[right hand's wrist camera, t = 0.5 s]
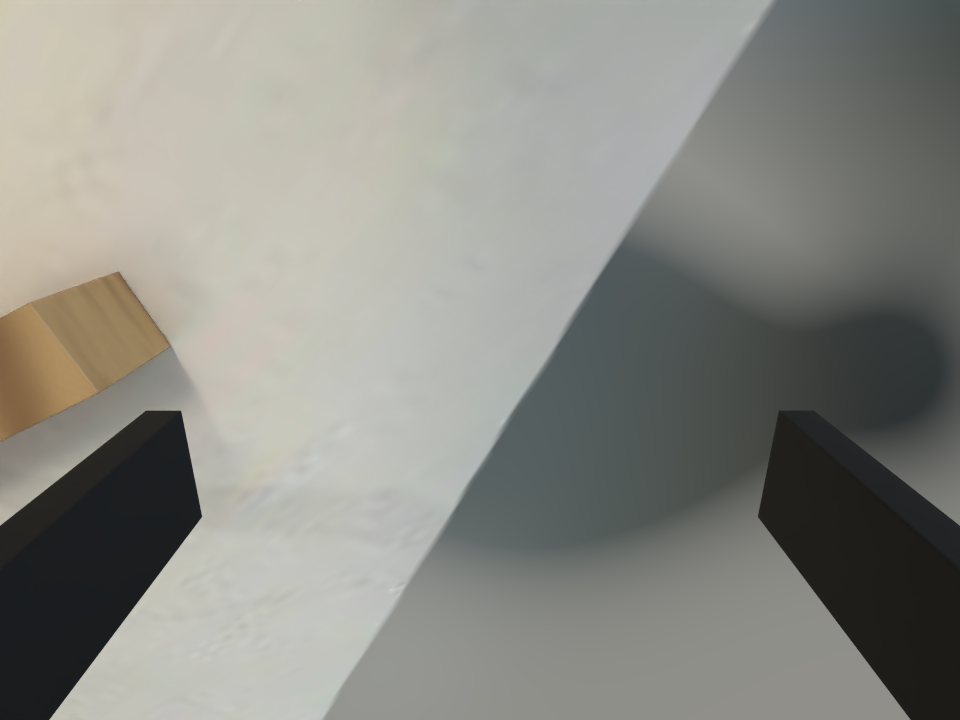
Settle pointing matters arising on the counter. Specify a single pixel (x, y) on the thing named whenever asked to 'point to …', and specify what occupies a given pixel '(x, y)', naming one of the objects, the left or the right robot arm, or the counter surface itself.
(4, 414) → the beam
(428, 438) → the counter surface
